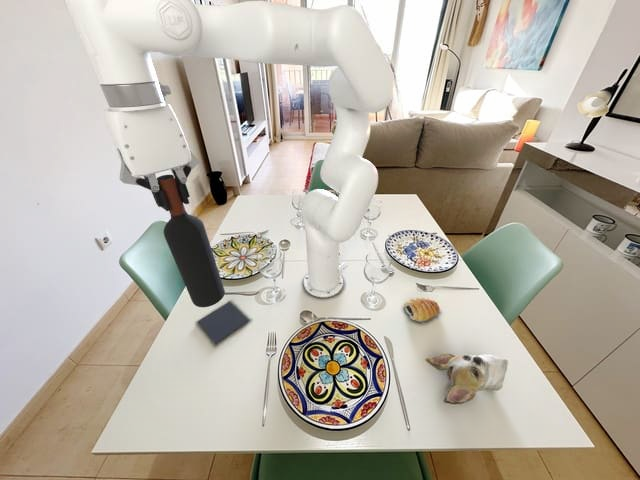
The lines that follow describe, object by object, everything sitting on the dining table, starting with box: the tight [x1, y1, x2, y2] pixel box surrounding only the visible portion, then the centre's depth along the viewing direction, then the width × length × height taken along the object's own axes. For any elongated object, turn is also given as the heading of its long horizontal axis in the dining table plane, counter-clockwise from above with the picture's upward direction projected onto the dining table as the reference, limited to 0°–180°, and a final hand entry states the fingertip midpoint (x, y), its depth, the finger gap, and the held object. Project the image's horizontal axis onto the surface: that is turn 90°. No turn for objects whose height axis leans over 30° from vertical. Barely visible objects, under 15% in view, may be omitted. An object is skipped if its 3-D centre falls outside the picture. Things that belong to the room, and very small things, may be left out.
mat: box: [197, 301, 250, 345], centre depth 74 cm, size 10×10×1 cm
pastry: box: [403, 297, 440, 323], centre depth 75 cm, size 9×7×4 cm
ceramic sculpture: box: [424, 353, 509, 405], centre depth 57 cm, size 11×9×15 cm
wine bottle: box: [156, 174, 226, 308], centre depth 57 cm, size 8×8×30 cm
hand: (175, 204), depth 51 cm, fingers closed on wine bottle, 2 cm apart
